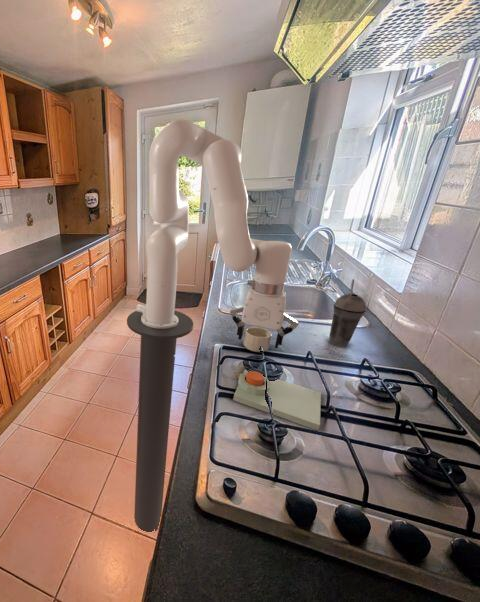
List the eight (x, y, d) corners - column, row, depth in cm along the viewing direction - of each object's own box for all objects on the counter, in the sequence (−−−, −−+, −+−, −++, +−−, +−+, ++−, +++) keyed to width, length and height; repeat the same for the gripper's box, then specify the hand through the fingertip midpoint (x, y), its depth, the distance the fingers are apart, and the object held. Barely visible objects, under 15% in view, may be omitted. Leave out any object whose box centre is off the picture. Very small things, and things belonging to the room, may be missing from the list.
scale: (231, 399, 69) (233, 389, 67) (243, 373, 78) (244, 363, 76) (318, 430, 60) (322, 419, 59) (319, 397, 69) (322, 386, 68)
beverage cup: (359, 349, 87) (382, 284, 79) (331, 348, 88) (351, 283, 80) (344, 337, 93) (364, 276, 86) (318, 336, 94) (336, 275, 87)
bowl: (240, 348, 89) (243, 333, 87) (245, 339, 94) (248, 324, 92) (266, 355, 85) (269, 340, 83) (269, 345, 90) (273, 330, 88)
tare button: (244, 383, 70) (245, 376, 69) (247, 375, 73) (248, 369, 72) (261, 388, 68) (262, 382, 67) (264, 380, 71) (265, 374, 70)
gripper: (231, 286, 84) (224, 339, 90) (305, 296, 75) (291, 356, 81) (237, 278, 90) (230, 329, 96) (306, 288, 80) (293, 344, 87)
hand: (258, 341), depth 89 cm, fingers open, 9 cm apart
